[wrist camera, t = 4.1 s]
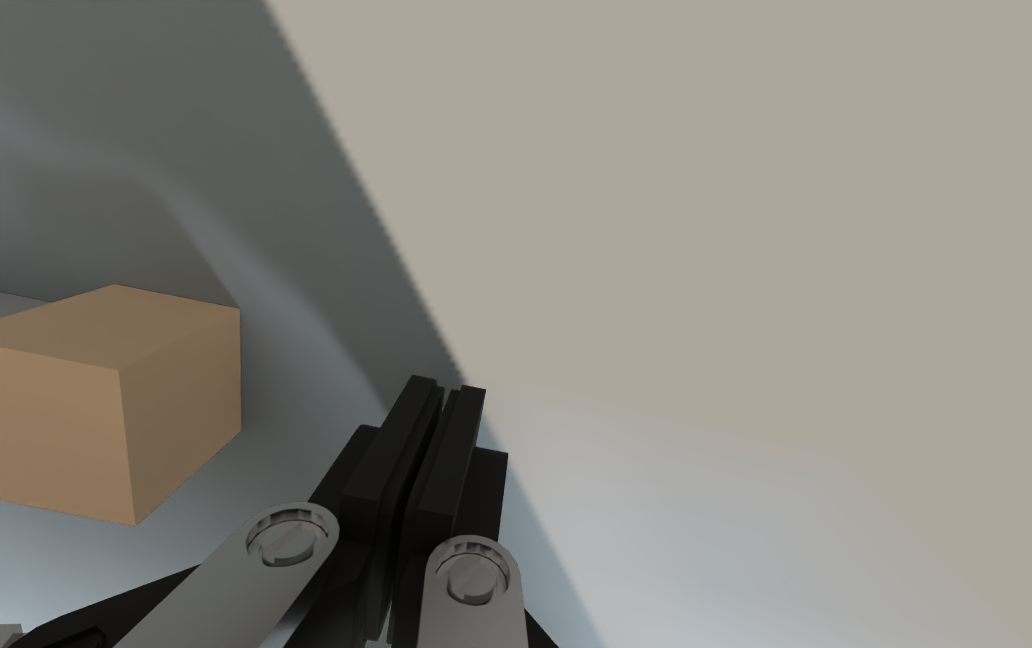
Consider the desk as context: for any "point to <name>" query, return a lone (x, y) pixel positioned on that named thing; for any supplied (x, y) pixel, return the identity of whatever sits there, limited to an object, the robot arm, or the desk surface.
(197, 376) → the lever
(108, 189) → the desk surface
